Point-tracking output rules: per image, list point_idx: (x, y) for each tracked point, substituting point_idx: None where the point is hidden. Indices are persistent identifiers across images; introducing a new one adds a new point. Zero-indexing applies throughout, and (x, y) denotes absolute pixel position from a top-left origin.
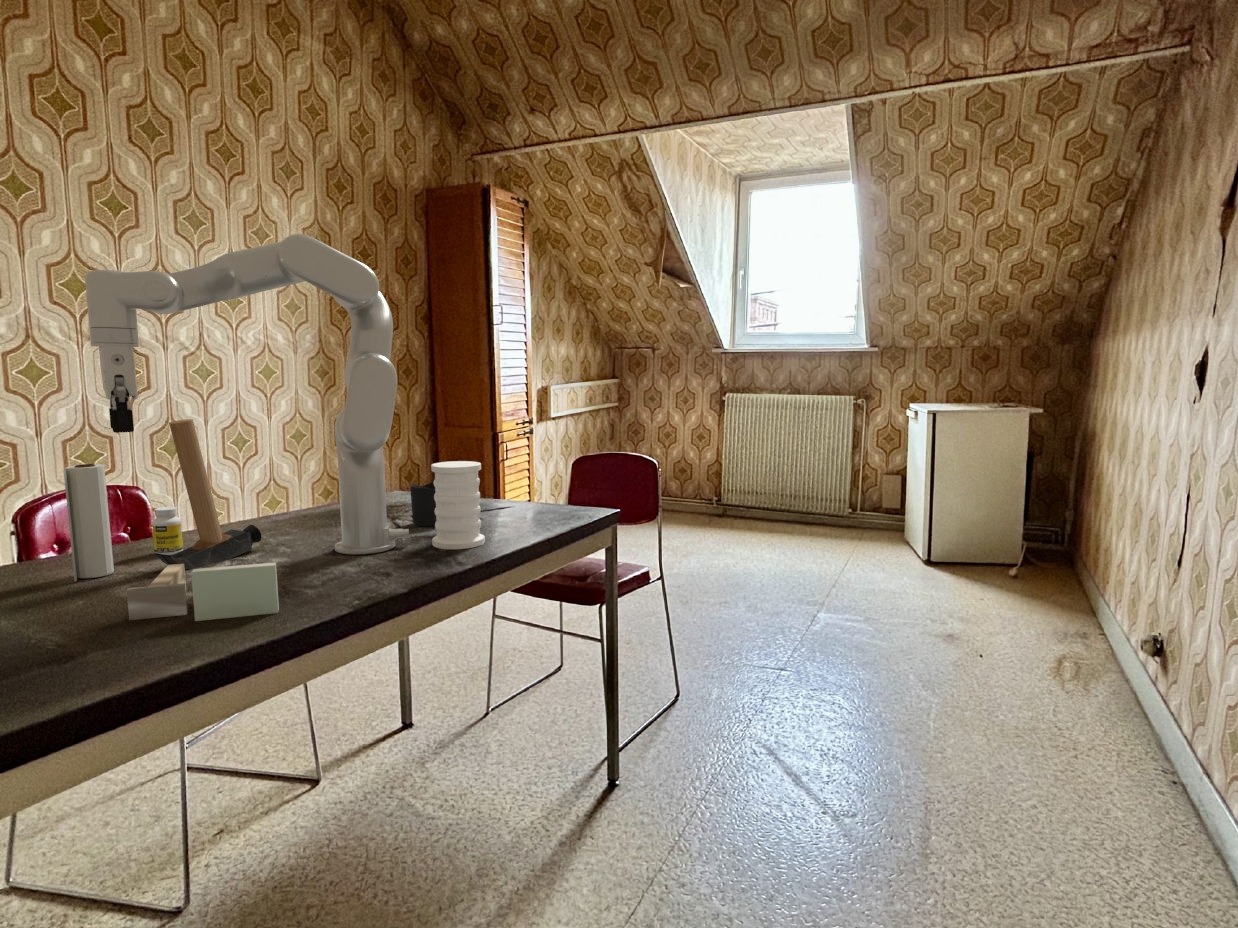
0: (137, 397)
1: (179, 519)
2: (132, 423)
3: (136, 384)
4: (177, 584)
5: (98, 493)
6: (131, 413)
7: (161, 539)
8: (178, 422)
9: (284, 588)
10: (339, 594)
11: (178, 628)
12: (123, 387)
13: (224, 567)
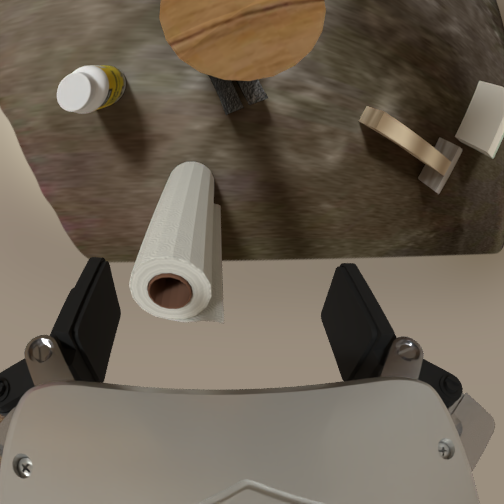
0: (407, 378)
1: (92, 67)
2: (366, 286)
3: (460, 456)
4: (457, 153)
5: (206, 235)
6: (384, 323)
7: (114, 96)
8: (299, 35)
9: (432, 34)
10: (476, 23)
11: (465, 158)
12: (490, 429)
13: (500, 130)
